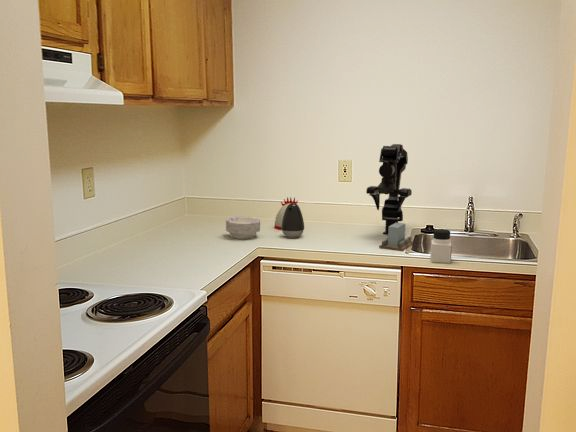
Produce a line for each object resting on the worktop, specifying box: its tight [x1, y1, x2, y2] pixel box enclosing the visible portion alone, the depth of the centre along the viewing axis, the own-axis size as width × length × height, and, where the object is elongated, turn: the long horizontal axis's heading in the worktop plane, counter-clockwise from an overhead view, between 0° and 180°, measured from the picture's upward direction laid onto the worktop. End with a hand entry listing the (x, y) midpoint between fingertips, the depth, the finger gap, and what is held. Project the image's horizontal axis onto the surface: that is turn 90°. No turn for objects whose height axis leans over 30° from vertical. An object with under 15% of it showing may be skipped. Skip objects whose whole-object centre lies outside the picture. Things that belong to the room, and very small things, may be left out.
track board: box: [378, 236, 414, 252], centre depth 245 cm, size 14×10×3 cm
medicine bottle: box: [430, 228, 453, 264], centre depth 221 cm, size 7×7×12 cm
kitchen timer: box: [274, 196, 299, 231], centre depth 281 cm, size 14×14×15 cm
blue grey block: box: [387, 222, 406, 247], centre depth 244 cm, size 10×4×8 cm, turn 152°
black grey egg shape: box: [281, 203, 305, 239], centre depth 261 cm, size 10×10×15 cm
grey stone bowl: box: [225, 216, 261, 240], centre depth 261 cm, size 15×15×8 cm
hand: (388, 210), depth 257 cm, fingers open, 9 cm apart
